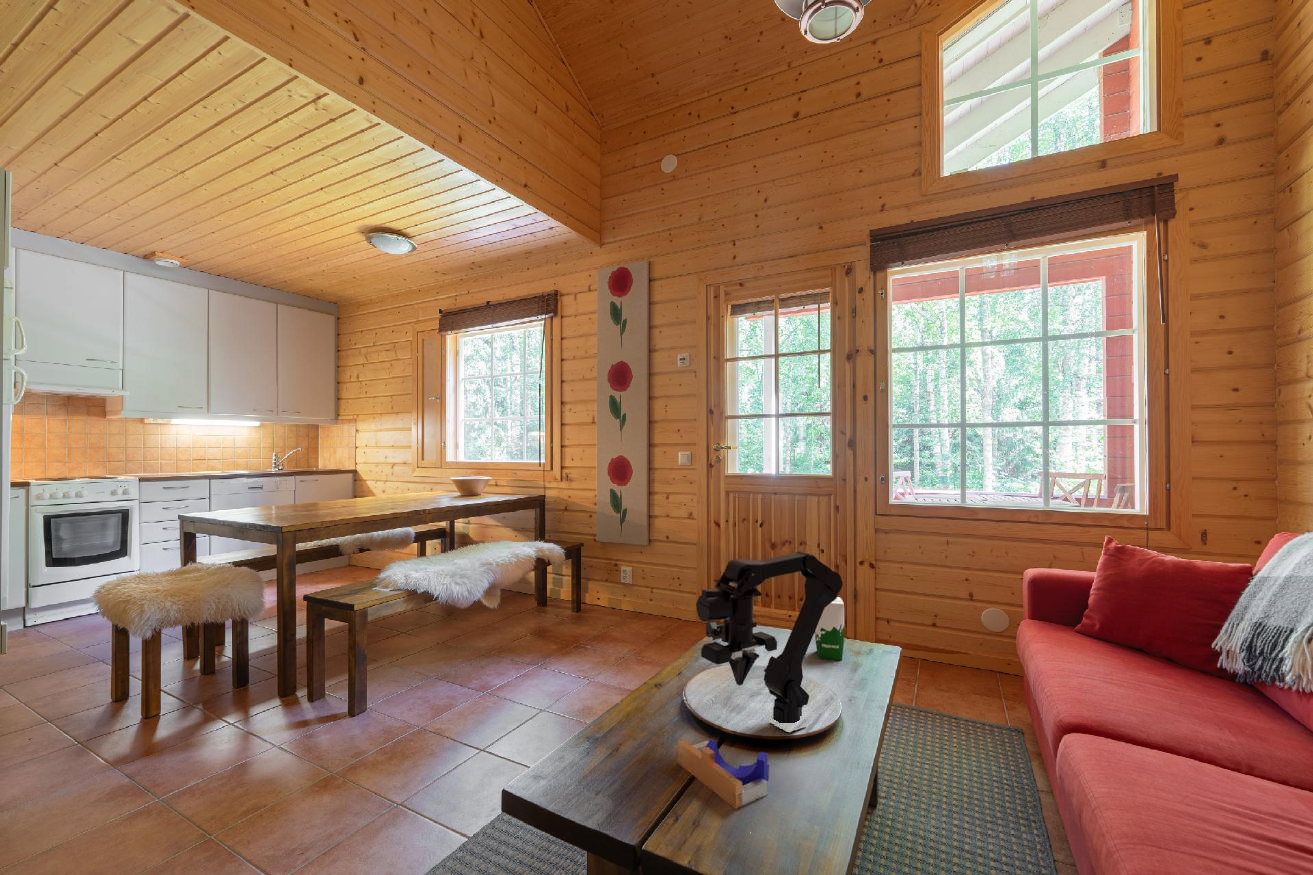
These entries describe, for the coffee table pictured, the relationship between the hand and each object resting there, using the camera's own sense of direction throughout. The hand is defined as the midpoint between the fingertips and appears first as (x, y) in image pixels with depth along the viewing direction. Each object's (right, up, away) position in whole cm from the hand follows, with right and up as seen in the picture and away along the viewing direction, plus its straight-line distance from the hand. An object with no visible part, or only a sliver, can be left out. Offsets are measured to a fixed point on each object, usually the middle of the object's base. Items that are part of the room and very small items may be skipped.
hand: (739, 684), depth 130 cm
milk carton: (+37, -14, +53) cm, 65 cm away
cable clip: (-3, -12, -16) cm, 20 cm away
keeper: (-6, -12, -16) cm, 21 cm away
